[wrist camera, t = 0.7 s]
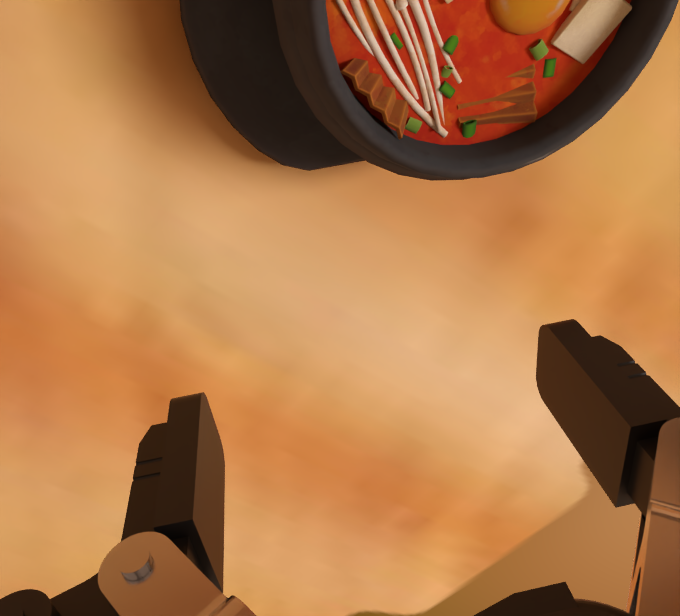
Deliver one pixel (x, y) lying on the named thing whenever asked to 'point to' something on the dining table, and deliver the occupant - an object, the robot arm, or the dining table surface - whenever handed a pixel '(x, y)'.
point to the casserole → (419, 77)
